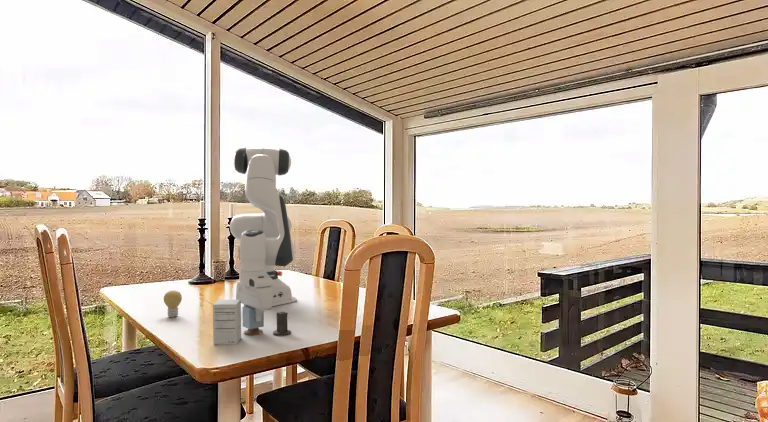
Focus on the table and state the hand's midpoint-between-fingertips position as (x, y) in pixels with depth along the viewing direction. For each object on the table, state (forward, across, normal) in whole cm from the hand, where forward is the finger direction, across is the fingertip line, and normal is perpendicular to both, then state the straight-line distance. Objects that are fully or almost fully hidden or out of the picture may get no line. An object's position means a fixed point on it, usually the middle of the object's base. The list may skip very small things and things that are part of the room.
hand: (253, 319), depth 166 cm
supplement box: (+5, +4, -11) cm, 12 cm away
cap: (+2, 0, 0) cm, 2 cm away
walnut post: (+5, 0, 0) cm, 5 cm away
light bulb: (+5, -42, -13) cm, 44 cm away
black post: (+5, +7, +7) cm, 11 cm away
